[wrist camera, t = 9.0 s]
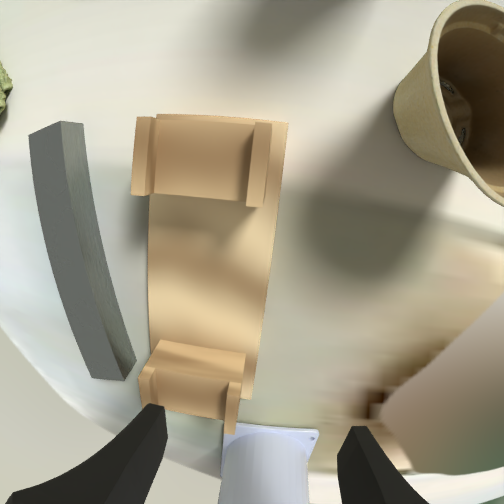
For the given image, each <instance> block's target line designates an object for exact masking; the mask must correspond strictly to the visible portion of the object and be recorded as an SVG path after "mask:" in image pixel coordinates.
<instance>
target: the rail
mask: <svg viewBox="0 0 504 504" xmlns="http://www.w3.org/2000/svg"><path fill="white" fill-rule="evenodd" d="M29 147H30V157H31V166H32V174H33V181H34V188H35V194H36V200H37V206H38V211H39V216H40V221H41V226H42V231H43V235H44V240H45V244H46V248H47V252H48V256H49V260H50V263H51V267H52V271H53V274H54V278H55V281H56V284H57V288H58V291H59V294H60V297H61V300H62V303H63V306H64V309H65V312H66V315H67V318H68V321H69V323H70V326H71V329H72V331H73V334H74V337H75V339H76V342H77V344H78V347H79V349H80V352H81V354H82V356H83V359H84V361H85V363H86V366H87V368H88V370H89V372H90V375H91V377H92V378H96V379H107V380H120V381H124V380H125V379H126V377H127V376H128V374H129V372H130V371H131V369H132V368H133V366H134V364H135V363H136V361H137V360H136V357H135V354H134V351H133V349H132V346H131V343H130V340H129V337H128V334H127V331H126V328H125V325H124V322H123V319H122V315H121V312H120V309H119V305H118V302H117V299H116V295H115V292H114V288H113V285H112V281H111V277H110V273H109V269H108V266H107V262H106V257H105V253H104V249H103V245H102V240H101V236H100V231H99V226H98V222H97V217H96V211H95V206H94V201H93V195H92V189H91V183H90V176H89V169H88V162H87V155H86V146H85V137H84V127H83V124H82V123H74V122H66V121H59V122H57V123H54V124H52V125H50V126H47V127H45V128H43V129H41V130H39V131H36V132H34V133H32V134H30V135H29Z"/></svg>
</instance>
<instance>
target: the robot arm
mask: <svg viewBox="0 0 504 504" xmlns="http://www.w3.org/2000/svg"><path fill="white" fill-rule="evenodd" d="M318 436H319V431H318V430H317V429H303V428H287V427H274V426H264V425H254V424H246V423H238V422H237V423H236V429H235V435H231V434H224V438H223V450H222V461H221V473H220V476H221V477H222V482H221V487H220V493H219V499H218V504H309V487H308V471H307V462H308V460H309V458H310V455H311V453H312V451H313V448H314V446H315V443H316V441H317V438H318ZM167 439H168V434H167V426H166V417H165V408H164V406H160V405H156V404H152V403H148V404H147V405H146V406H145V407H144V408H143V409H142V411H141V412H140V413H139V414H138V415H137V416H136V417H135V418H134V419H133V420H132V421H131V422H130V423H129V424H128V425H127V426H126V427H125V428H124V429H123V430H122V431H121V432H120V433H119V434H118V435H117V436H116V437H115V438H114V439H113V440H112V441H111V442H109V443H108V444H107V445H105V446H104V447H103V448H102V449H101V450H100V451H98V452H97V453H96V454H94V455H93V456H91V457H90V458H89V459H87V460H86V461H85V462H83V463H81V464H80V465H78V466H76V467H75V468H73V469H71V470H69V471H68V472H66V473H64V474H62V475H60V476H58V477H56V478H53V479H51V480H49V481H46V482H44V483H42V484H39V485H36V486H33V487H30V488H26V489H23V490H19V491H16V492H13V493H12V495H11V496H10V497H9V498H8V500H7V502H6V503H5V504H144V502H145V500H146V497H147V495H148V492H149V490H150V487H151V485H152V483H153V480H154V478H155V475H156V473H157V470H158V468H159V466H160V463H161V461H162V458H163V454H164V450H165V447H166V443H167ZM337 470H338V481H339V487H340V493H341V499H342V504H429V503H428V502H427V501H426V500H425V499H423V498H422V497H421V496H420V495H419V494H418V493H417V492H416V491H415V490H414V489H413V488H412V487H411V486H410V485H409V483H408V482H407V481H406V480H405V479H404V478H403V476H402V475H401V474H400V473H399V472H398V470H397V469H396V468H395V466H394V465H393V464H392V462H391V461H390V460H389V458H388V457H387V456H386V454H385V453H384V451H383V450H382V448H381V447H380V446H379V444H378V443H377V441H376V440H375V438H374V437H373V435H372V434H371V432H370V431H369V429H368V428H367V426H352V427H351V429H350V431H349V433H348V435H347V437H346V439H345V441H344V443H343V445H342V447H341V449H340V451H339V453H338V454H337Z"/></svg>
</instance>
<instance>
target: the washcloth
mask: <svg viewBox="0 0 504 504" xmlns="http://www.w3.org/2000/svg"><path fill="white" fill-rule="evenodd" d="M11 81H12V79H10V78H9V77H8V74H7V73H6V70H5V69H3V67H2V64H1V61H0V114H1V112H2V111H3V110H4V109H5V106H6V103H5V100H6V99H5V98H6V96H7V95H8V94H9V92H10V91H11V90H12V88H13V85H12V83H11Z"/></svg>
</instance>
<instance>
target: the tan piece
mask: <svg viewBox="0 0 504 504" xmlns="http://www.w3.org/2000/svg"><path fill="white" fill-rule="evenodd" d="M287 130H288V123H286V122H277V121H269V120H260V119H249V118H238V117H224V116H208V115H182V114H157V116H156V118H153V117H137V121H136V130H135V140H134V151H133V164H132V180H131V195H138V196H146V195H149V194H150V199H149V223H148V307H149V331H150V348H151V356H150V358H149V359H148V361H147V363H146V364H145V366H144V368H143V370H142V371H141V373H140V375H139V376H138V382H139V389H140V397H141V403H142V409H143V408H144V407H145V406H146V405H147V404H148V403H152V404H156V405H160V406H164V408H165V409H166V410H171V411H175V412H180V413H185V414H190V415H195V416H201V417H206V418H212V419H219V420H225V423H224V434H231V435H235V429H236V423H237V416H238V409H239V403H240V398H242V399H250V400H251V396H252V390H253V383H254V377H255V370H256V364H257V357H258V351H259V344H260V337H261V330H262V323H263V316H264V309H265V302H266V295H267V288H268V281H269V274H270V266H271V259H272V251H273V244H274V236H275V229H276V221H277V213H278V205H279V197H280V189H281V181H282V173H283V164H284V156H285V148H286V139H287Z"/></svg>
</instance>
